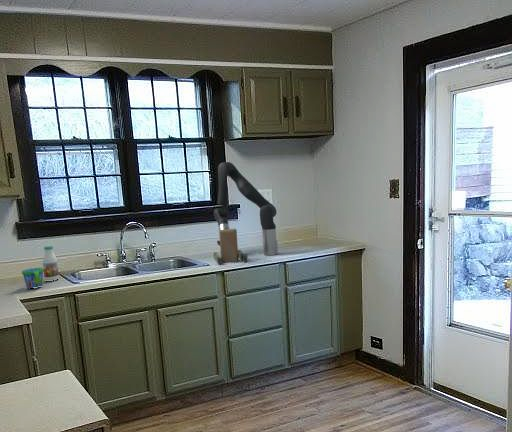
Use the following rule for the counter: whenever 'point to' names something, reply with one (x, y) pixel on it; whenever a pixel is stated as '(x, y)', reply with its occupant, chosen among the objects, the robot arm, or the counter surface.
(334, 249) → the counter surface
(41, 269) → the snack cup
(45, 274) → the milk bottle
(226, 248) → the block
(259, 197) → the robot arm
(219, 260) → the lane
